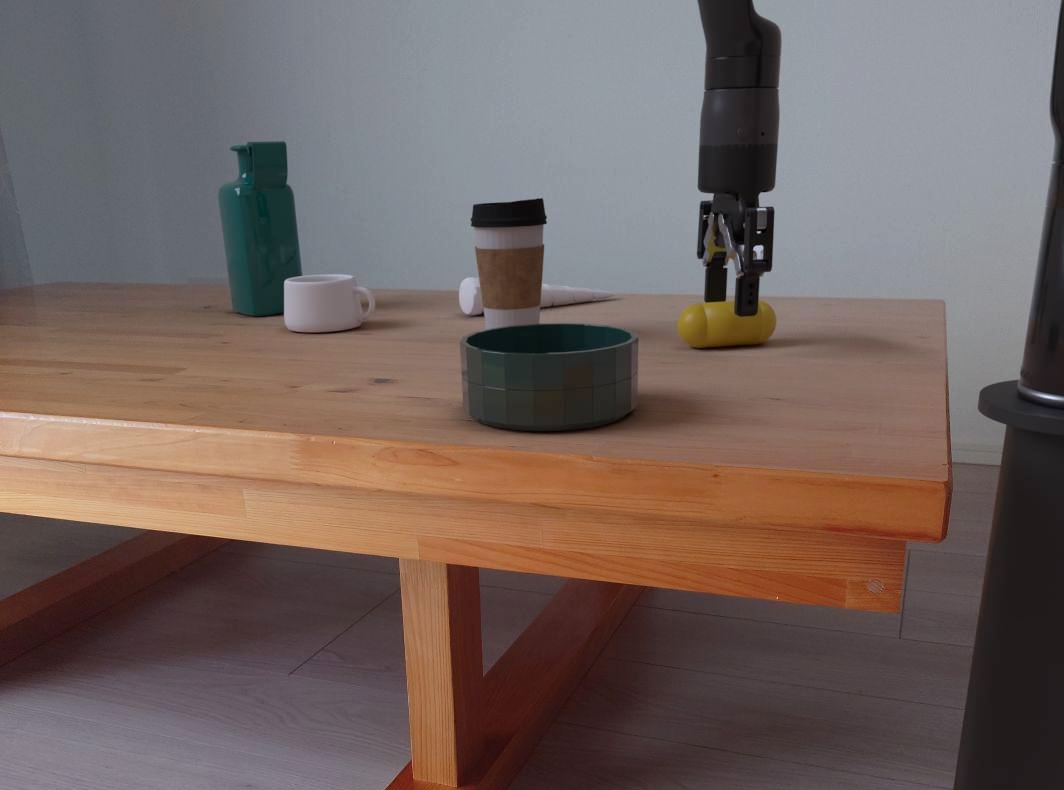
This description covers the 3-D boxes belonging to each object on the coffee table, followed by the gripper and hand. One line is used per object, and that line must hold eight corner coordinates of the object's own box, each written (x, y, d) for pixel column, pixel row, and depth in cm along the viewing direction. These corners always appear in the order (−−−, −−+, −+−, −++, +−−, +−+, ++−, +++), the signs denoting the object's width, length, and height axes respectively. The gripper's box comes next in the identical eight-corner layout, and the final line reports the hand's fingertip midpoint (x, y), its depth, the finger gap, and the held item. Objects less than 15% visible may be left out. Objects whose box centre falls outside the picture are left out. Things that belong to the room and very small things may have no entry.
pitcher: (228, 312, 141) (205, 143, 133) (282, 305, 146) (264, 142, 138) (259, 319, 134) (238, 141, 126) (316, 311, 139) (298, 140, 131)
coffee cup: (527, 346, 110) (522, 201, 104) (461, 341, 113) (454, 201, 108) (562, 333, 116) (560, 196, 111) (499, 329, 120) (494, 197, 115)
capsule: (770, 350, 108) (762, 311, 109) (787, 330, 104) (778, 290, 105) (676, 356, 106) (668, 317, 107) (688, 337, 102) (680, 296, 103)
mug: (270, 333, 123) (264, 282, 121) (308, 320, 132) (303, 273, 129) (360, 335, 120) (355, 283, 117) (393, 322, 128) (389, 273, 126)
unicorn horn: (630, 301, 139) (630, 265, 137) (471, 318, 129) (469, 280, 128) (612, 297, 143) (612, 262, 141) (457, 314, 133) (455, 276, 132)
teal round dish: (653, 396, 86) (654, 325, 84) (611, 439, 74) (611, 357, 71) (500, 388, 90) (498, 321, 88) (436, 427, 78) (431, 350, 76)
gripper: (806, 139, 92) (793, 318, 98) (746, 140, 105) (737, 298, 111) (728, 141, 91) (719, 322, 97) (677, 141, 104) (672, 301, 110)
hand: (729, 309), depth 104 cm, fingers open, 8 cm apart
